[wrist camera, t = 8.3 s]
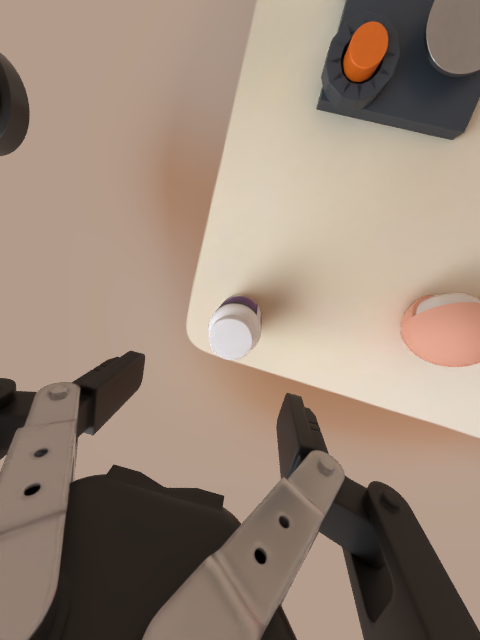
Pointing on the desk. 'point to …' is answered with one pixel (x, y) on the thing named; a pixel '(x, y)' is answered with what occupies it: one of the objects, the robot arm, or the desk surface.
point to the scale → (397, 75)
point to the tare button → (365, 51)
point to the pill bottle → (235, 327)
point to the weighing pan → (453, 37)
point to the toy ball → (444, 329)
